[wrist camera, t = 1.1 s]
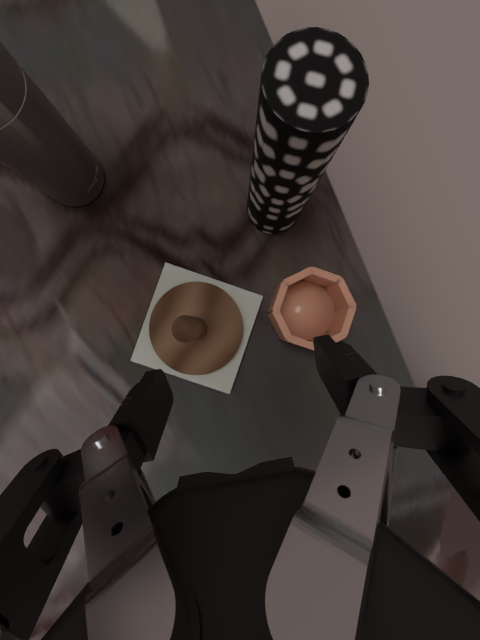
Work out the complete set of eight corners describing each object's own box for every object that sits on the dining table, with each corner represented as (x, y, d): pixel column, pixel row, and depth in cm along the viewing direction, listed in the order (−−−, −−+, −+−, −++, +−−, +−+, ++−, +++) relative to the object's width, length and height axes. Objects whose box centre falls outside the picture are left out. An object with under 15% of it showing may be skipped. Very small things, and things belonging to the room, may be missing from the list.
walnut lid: (138, 356, 36) (106, 366, 27) (169, 270, 37) (147, 252, 28) (225, 385, 36) (222, 406, 27) (254, 300, 37) (261, 291, 28)
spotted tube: (241, 226, 38) (249, 116, 18) (254, 177, 38) (276, 14, 18) (291, 240, 38) (354, 145, 18) (304, 190, 38) (379, 43, 18)
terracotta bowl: (260, 332, 38) (264, 333, 33) (282, 267, 38) (289, 258, 33) (325, 354, 38) (339, 359, 33) (346, 289, 38) (363, 284, 33)
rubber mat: (132, 360, 37) (130, 360, 36) (166, 263, 38) (165, 262, 37) (229, 392, 37) (229, 394, 36) (262, 296, 38) (263, 296, 37)
